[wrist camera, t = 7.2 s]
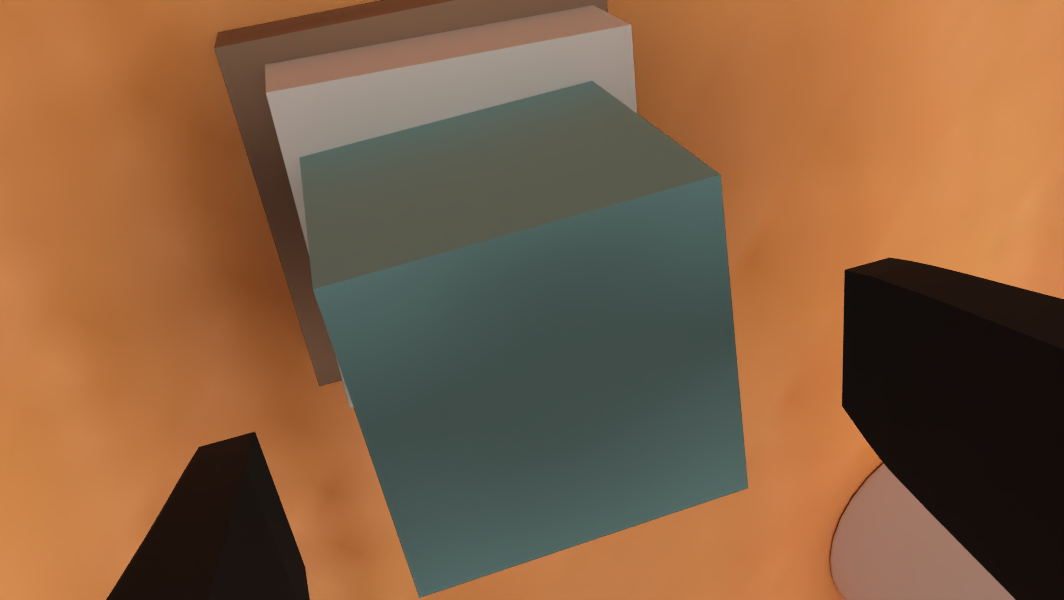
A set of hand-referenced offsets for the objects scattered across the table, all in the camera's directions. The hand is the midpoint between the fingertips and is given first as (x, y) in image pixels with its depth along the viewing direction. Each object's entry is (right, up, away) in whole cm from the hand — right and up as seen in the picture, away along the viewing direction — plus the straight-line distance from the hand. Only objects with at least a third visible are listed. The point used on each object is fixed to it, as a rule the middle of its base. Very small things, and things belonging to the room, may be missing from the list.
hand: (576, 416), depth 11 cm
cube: (-1, +2, +5) cm, 6 cm away
